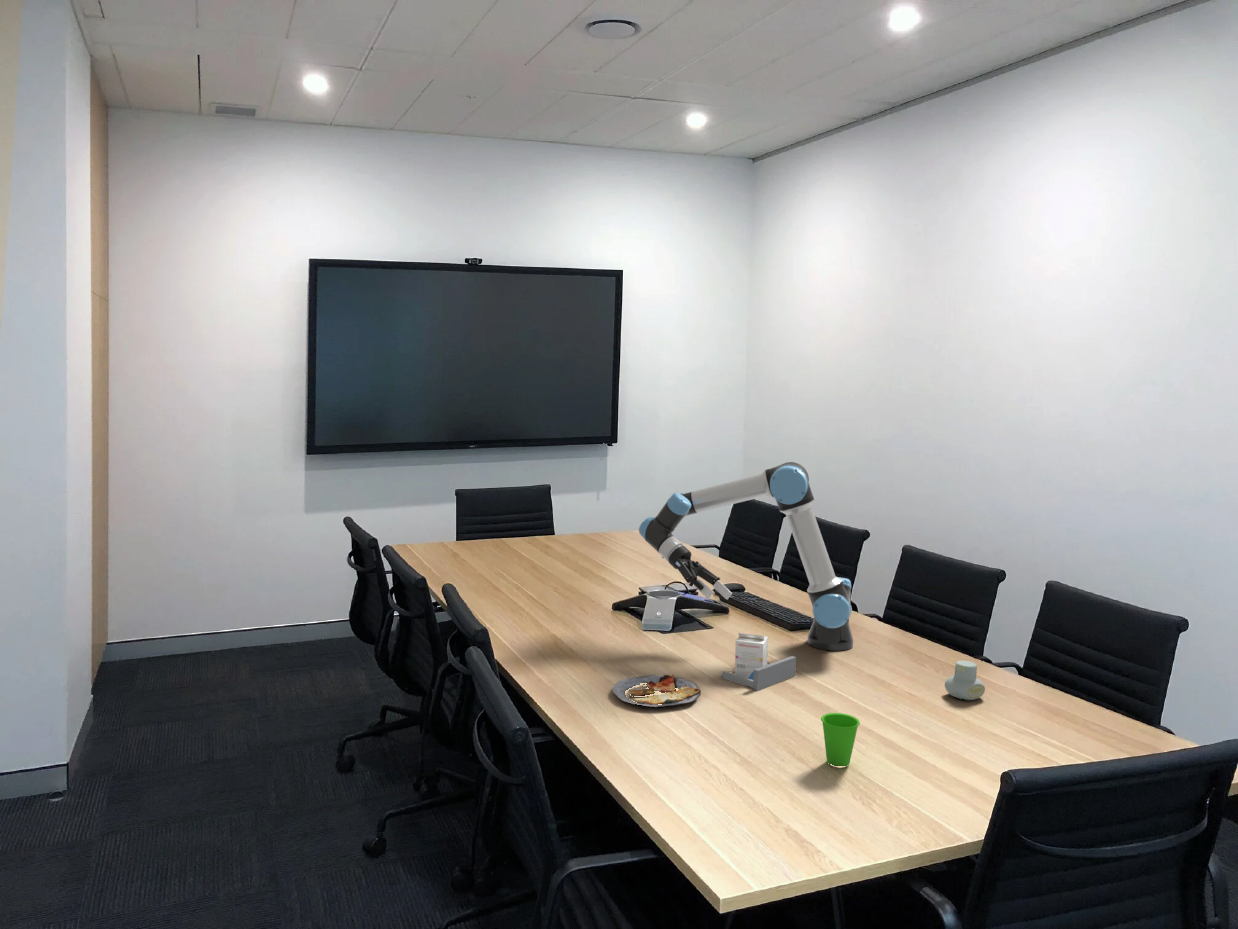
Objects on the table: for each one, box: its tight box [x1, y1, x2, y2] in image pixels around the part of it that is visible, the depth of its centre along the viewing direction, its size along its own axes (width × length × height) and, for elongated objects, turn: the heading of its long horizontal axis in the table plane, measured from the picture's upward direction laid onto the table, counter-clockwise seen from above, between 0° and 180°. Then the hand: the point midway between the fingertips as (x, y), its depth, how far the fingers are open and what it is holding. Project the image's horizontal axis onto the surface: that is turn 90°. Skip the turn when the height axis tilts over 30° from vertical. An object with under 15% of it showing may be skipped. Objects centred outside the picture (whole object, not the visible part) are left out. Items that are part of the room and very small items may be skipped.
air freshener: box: [944, 660, 986, 701], centre depth 275 cm, size 11×8×10 cm
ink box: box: [734, 632, 769, 680], centre depth 289 cm, size 9×8×13 cm
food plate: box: [612, 674, 702, 708], centre depth 271 cm, size 25×23×4 cm
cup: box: [820, 712, 861, 766], centre depth 228 cm, size 9×9×11 cm
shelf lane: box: [721, 655, 797, 692], centre depth 288 cm, size 14×19×6 cm
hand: (720, 596), depth 304 cm, fingers open, 13 cm apart
